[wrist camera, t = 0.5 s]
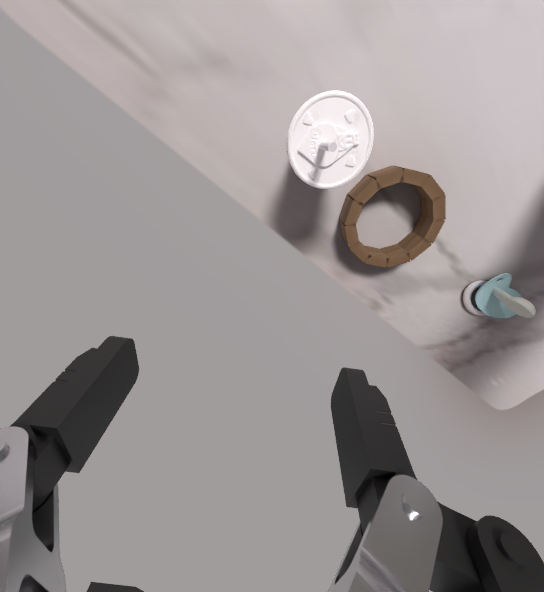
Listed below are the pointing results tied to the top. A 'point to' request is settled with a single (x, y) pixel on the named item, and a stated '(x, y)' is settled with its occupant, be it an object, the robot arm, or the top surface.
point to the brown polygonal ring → (423, 230)
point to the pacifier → (497, 299)
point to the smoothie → (330, 139)
